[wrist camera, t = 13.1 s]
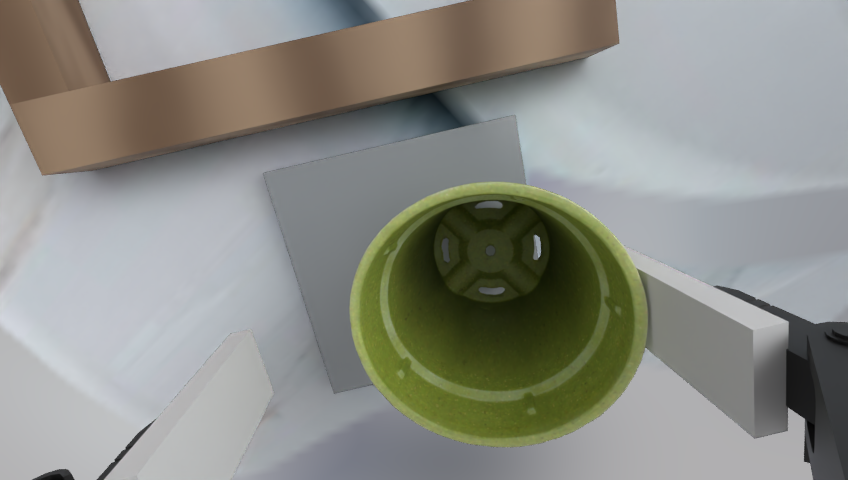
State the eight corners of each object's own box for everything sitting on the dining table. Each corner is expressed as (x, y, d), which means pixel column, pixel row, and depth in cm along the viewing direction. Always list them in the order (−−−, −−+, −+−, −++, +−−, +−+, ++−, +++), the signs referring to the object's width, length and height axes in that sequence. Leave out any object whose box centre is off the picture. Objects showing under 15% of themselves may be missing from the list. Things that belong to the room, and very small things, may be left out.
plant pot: (585, 328, 21) (644, 454, 13) (413, 332, 23) (369, 445, 15) (584, 149, 19) (654, 167, 11) (392, 168, 21) (326, 197, 12)
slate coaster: (509, 116, 21) (515, 114, 20) (544, 333, 24) (551, 341, 23) (268, 171, 21) (262, 173, 20) (336, 383, 24) (333, 393, 23)
